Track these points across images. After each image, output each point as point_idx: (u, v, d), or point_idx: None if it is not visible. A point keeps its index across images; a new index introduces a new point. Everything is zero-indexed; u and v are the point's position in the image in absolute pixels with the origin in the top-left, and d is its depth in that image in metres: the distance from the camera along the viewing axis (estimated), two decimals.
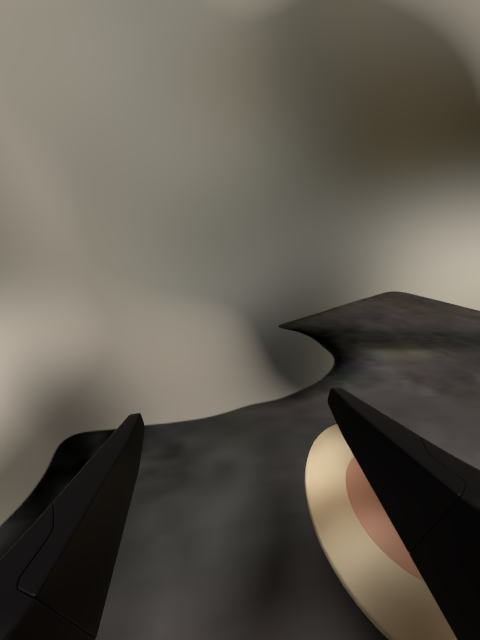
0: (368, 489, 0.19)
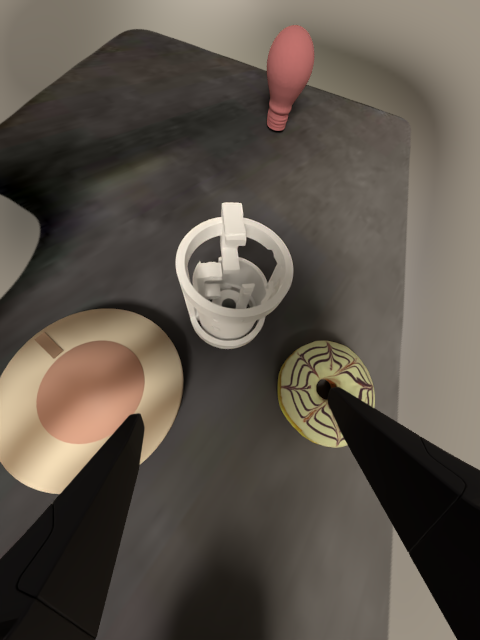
0: (60, 398, 0.19)
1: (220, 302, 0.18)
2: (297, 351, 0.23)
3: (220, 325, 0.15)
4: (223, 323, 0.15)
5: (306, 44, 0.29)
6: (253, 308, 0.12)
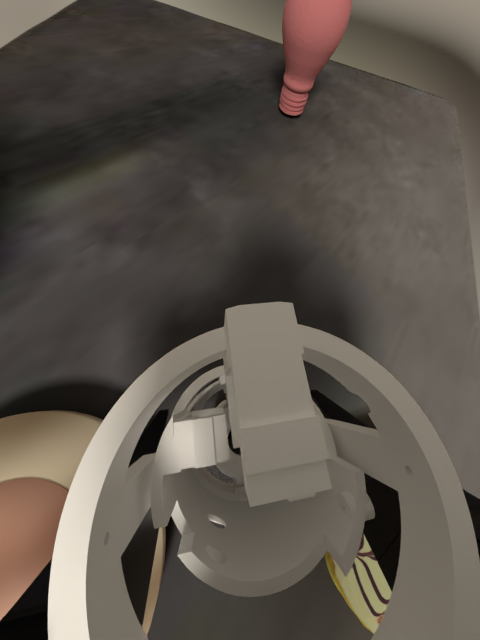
0: None
1: None
2: None
3: (226, 549, 0.07)
4: None
5: None
6: None
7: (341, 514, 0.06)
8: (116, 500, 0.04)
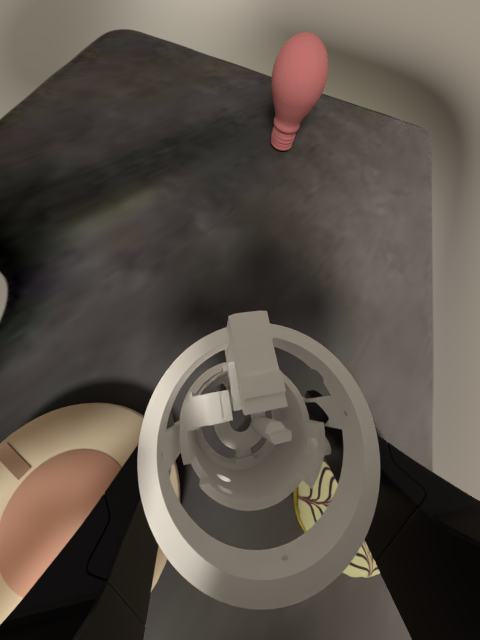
0: (27, 536, 0.15)
1: None
2: None
3: None
4: None
5: (319, 56, 0.24)
6: (315, 567, 0.05)
7: (310, 453, 0.08)
8: (164, 436, 0.06)
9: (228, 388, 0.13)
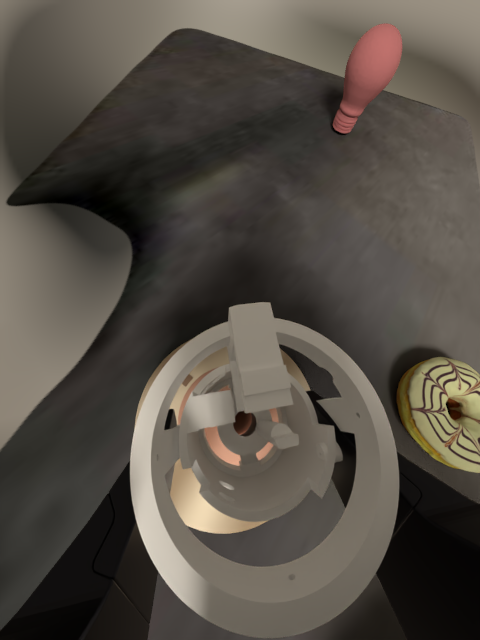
0: None
1: None
2: (420, 370, 0.22)
3: None
4: None
5: (398, 44, 0.28)
6: (327, 590, 0.05)
7: (319, 460, 0.07)
8: (161, 437, 0.06)
9: (232, 390, 0.13)
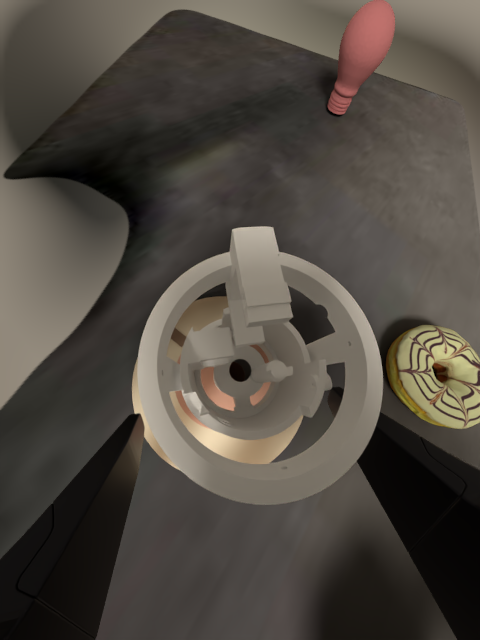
0: None
1: (227, 367, 0.12)
2: (408, 335, 0.23)
3: None
4: None
5: (390, 20, 0.28)
6: (315, 472, 0.05)
7: (310, 389, 0.08)
8: (164, 357, 0.06)
9: None
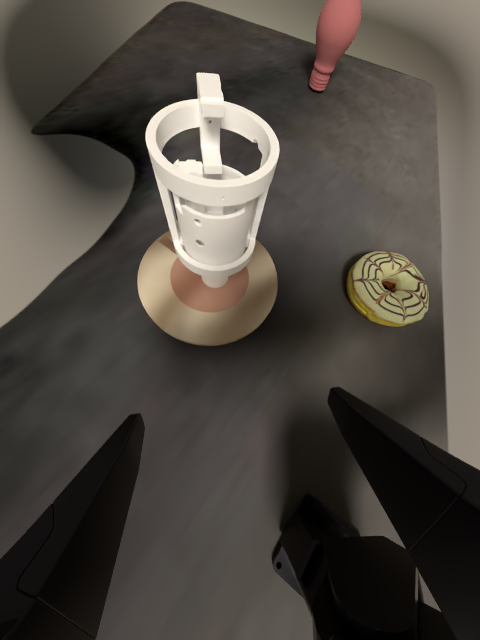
0: (187, 282, 0.24)
1: None
2: (363, 256, 0.28)
3: (203, 235, 0.14)
4: (206, 228, 0.14)
5: (357, 3, 0.33)
6: (234, 180, 0.10)
7: None
8: (160, 148, 0.12)
9: None
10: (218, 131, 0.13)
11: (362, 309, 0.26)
